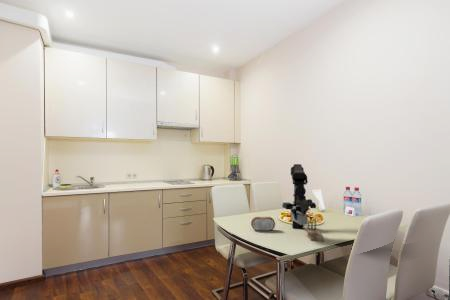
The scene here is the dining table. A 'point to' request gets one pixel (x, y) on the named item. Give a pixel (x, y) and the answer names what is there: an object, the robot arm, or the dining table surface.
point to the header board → (314, 232)
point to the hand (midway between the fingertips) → (299, 219)
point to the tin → (263, 223)
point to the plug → (300, 218)
